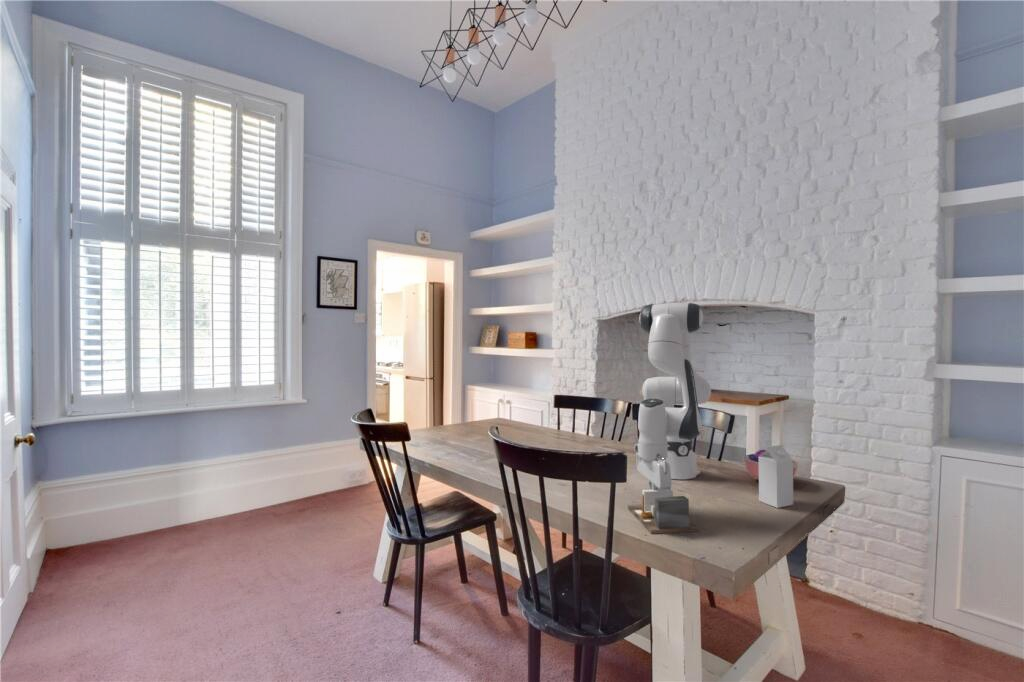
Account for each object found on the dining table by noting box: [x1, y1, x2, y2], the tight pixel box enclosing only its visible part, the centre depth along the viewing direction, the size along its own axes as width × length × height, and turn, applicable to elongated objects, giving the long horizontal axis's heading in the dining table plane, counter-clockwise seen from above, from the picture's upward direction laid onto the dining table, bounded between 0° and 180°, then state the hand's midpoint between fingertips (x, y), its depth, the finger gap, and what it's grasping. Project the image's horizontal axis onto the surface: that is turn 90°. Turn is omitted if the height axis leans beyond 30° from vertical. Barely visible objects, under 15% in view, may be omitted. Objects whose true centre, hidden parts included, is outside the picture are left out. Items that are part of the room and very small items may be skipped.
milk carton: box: [758, 444, 794, 509], centre depth 158 cm, size 7×7×19 cm
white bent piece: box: [641, 488, 674, 517], centre depth 146 cm, size 8×9×7 cm
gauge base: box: [627, 495, 699, 534], centre depth 147 cm, size 20×14×9 cm
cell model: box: [741, 449, 799, 481], centre depth 180 cm, size 17×20×11 cm
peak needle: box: [641, 494, 651, 517], centre depth 146 cm, size 1×3×6 cm, turn 95°
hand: (653, 494), depth 152 cm, fingers closed
